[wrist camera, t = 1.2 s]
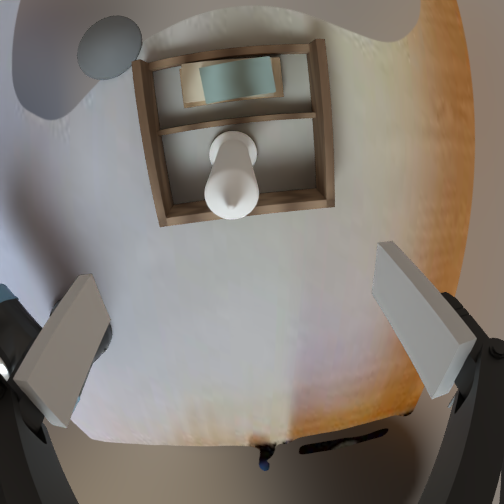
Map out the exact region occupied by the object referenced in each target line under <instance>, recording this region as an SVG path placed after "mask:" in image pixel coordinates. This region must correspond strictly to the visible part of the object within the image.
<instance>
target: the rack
mask: <svg viewBox="0 0 504 504" xmlns="http://www.w3.org/2000/svg"><path fill="white" fill-rule="evenodd" d="M276 54H307V62H308V72H309V82H310V93H311V105H312V112H305V113H286V114H271V115H259V116H249V117H240V118H231V119H223V120H216V121H208V122H202V123H195V124H189V125H183V126H178V127H172V128H167V129H162V130H160V124H159V117H158V110H157V103H156V96H155V88H154V80H153V71H157V70H162V69H167V68H171V67H176V66H181V64H187V63H195V62H204V61H212V60H219V59H227V58H236V57H246V56H259V55H276ZM131 63H132V72H133V81H134V89H135V96H136V103H137V110H138V117H139V124H140V130H141V136H142V142H143V148H144V153H145V159H146V164H147V169H148V175H149V180H150V185H151V189H152V194H153V199H154V204H155V208H156V213H157V217H158V221H159V226H160V227H164V226H171V225H179V224H186V223H194V222H201V221H209V220H217V219H224V218H221V217H219V216H217V215H216V214H214V213H213V212H212V211H211V210H210V208H209V207H208V205H207V203H206V200H203V201H196V202H188V203H181V204H175V205H174V204H173V199H172V194H171V188H170V183H169V178H168V172H167V167H166V161H165V155H164V149H163V143H162V137H161V135H167V134H172V133H177V132H183V131H189V130H195V129H202V128H208V127H216V126H223V125H231V124H240V123H249V122H259V121H271V120H284V119H301V118H313V133H314V150H315V170H316V188H313V189H301V190H290V191H280V192H270V193H260V194H259V198H258V202H257V204H256V206H255V207H254V209H253V210H252V211H251V212H250V213H249V214H248V215H246V216H251V215H260V214H269V213H278V212H288V211H297V210H308V209H318V208H329V207H335V185H334V148H333V127H332V111H331V97H330V85H329V74H328V64H327V55H326V46H325V39H315V40H314V41H312V42H311V43H310V44H283V45H262V46H248V47H237V48H228V49H220V50H213V51H206V52H199V53H193V54H188V55H182V56H177V57H172V58H167V59H163V60H158V61H154V62H150V63H147V62H145V61H143V60H140V59H139V60H135V61H132V62H131Z"/></svg>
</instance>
